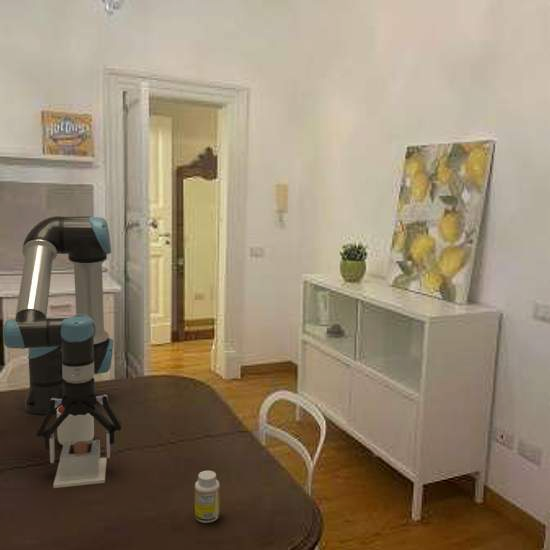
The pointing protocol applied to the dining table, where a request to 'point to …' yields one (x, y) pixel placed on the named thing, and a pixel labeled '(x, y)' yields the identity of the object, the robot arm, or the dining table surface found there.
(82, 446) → the peg stand
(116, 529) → the dining table surface
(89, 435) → the cup
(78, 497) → the dining table surface
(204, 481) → the supplement bottle
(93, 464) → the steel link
